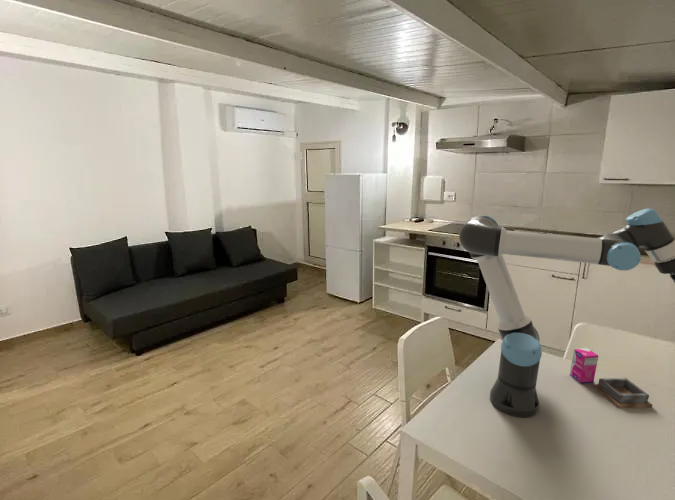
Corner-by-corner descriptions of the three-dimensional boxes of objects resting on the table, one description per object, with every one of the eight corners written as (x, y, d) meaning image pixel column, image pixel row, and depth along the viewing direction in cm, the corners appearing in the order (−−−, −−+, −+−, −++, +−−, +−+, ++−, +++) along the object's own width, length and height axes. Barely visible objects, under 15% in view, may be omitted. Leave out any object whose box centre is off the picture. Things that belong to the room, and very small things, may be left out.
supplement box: (568, 375, 146) (573, 348, 143) (582, 374, 146) (587, 347, 144) (579, 383, 140) (584, 356, 137) (594, 383, 141) (599, 355, 138)
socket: (617, 407, 127) (619, 397, 126) (592, 386, 138) (594, 376, 137) (652, 407, 127) (654, 397, 126) (624, 386, 139) (626, 376, 138)
